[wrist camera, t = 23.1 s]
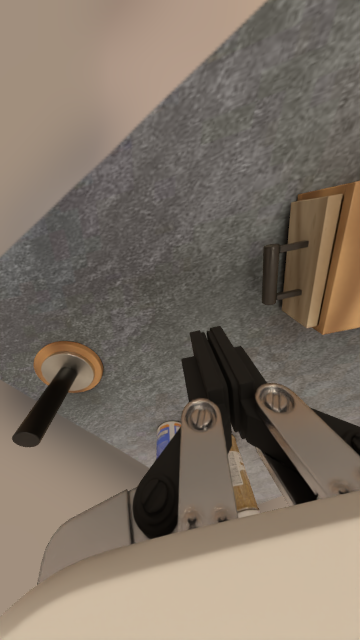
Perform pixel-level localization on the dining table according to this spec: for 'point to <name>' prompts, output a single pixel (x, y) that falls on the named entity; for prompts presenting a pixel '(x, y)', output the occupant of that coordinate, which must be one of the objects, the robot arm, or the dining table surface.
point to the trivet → (69, 347)
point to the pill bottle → (166, 434)
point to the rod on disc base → (54, 393)
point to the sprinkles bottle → (241, 484)
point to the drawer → (304, 259)
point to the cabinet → (342, 263)
